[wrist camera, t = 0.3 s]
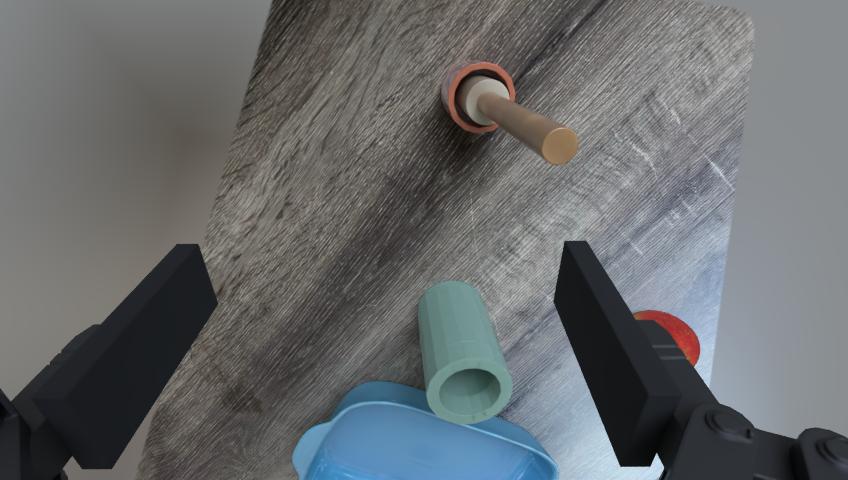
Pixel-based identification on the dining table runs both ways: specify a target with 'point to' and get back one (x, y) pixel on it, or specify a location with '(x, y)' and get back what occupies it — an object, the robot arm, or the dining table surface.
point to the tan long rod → (515, 118)
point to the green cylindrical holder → (461, 355)
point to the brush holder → (453, 80)
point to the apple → (675, 332)
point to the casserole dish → (414, 443)
